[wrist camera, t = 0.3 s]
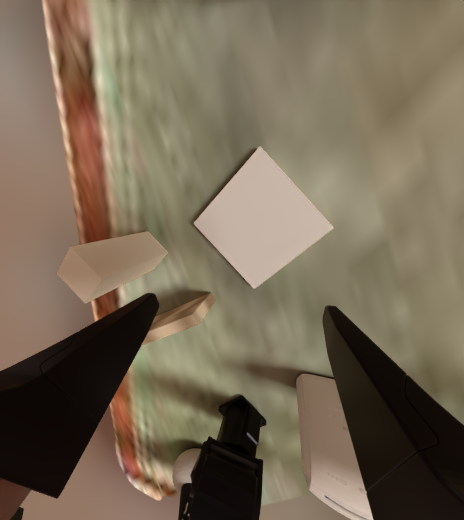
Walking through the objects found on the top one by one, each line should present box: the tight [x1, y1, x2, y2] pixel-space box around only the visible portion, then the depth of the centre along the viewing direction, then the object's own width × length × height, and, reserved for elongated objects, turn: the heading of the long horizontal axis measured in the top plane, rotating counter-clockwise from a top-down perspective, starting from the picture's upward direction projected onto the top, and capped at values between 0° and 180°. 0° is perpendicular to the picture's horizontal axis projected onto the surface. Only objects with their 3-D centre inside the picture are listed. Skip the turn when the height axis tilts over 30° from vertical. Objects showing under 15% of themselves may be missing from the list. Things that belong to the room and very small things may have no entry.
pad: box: [193, 147, 334, 289], centre depth 23 cm, size 12×12×1 cm
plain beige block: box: [56, 231, 168, 303], centre depth 24 cm, size 4×5×11 cm
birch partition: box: [142, 293, 215, 345], centre depth 29 cm, size 18×2×6 cm, turn 120°
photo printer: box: [296, 374, 373, 520], centre depth 21 cm, size 10×4×12 cm, turn 88°
